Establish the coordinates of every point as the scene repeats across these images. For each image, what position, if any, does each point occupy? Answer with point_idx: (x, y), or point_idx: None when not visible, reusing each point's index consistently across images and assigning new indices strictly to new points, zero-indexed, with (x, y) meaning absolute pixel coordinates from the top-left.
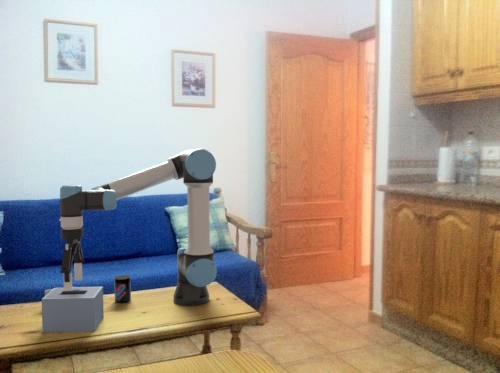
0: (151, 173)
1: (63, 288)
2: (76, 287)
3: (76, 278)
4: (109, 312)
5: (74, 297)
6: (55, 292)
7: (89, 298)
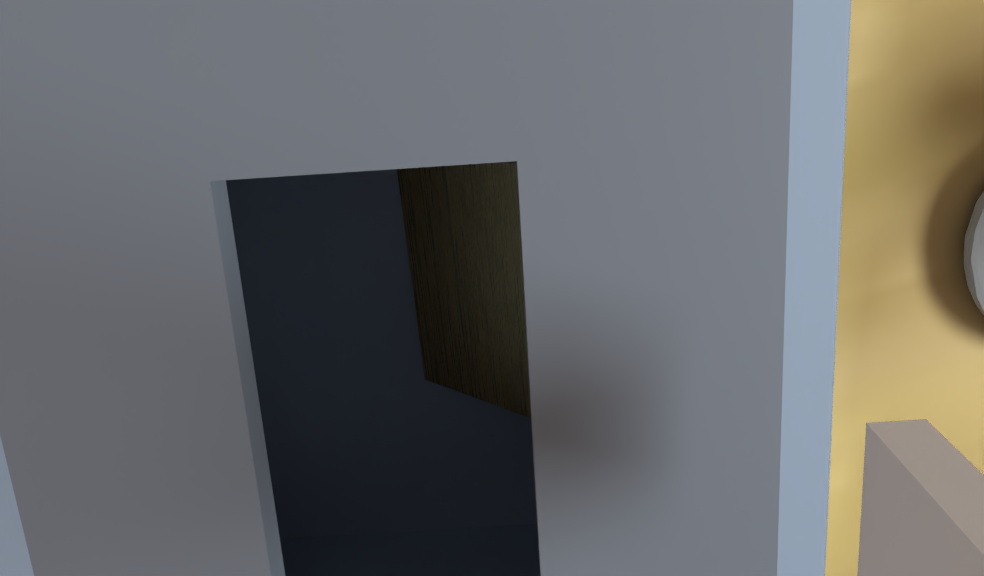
0: None
1: (751, 93)
2: (804, 383)
3: (883, 507)
4: (856, 541)
5: (46, 573)
6: (392, 16)
7: None
